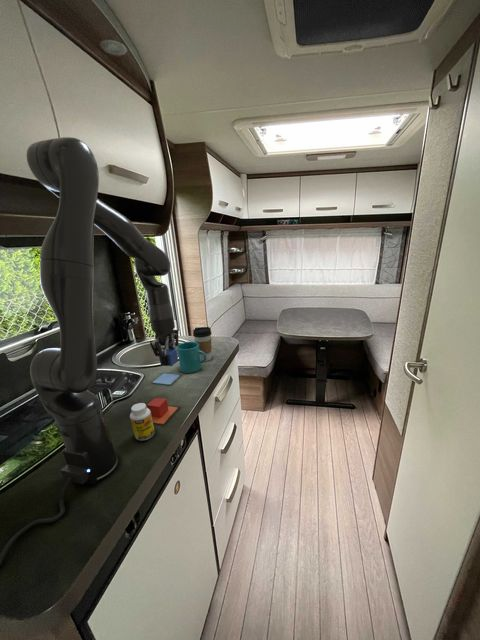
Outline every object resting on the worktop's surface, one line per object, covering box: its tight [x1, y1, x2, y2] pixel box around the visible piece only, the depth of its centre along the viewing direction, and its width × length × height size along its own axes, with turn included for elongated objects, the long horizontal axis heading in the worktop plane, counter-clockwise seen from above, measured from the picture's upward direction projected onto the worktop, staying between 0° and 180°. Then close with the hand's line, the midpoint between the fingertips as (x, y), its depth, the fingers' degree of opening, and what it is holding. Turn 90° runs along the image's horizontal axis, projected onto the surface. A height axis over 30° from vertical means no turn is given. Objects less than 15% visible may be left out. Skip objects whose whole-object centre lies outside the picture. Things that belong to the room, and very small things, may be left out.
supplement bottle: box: [129, 402, 156, 442], centre depth 81 cm, size 6×6×10 cm
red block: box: [146, 397, 169, 418], centre depth 92 cm, size 4×4×4 cm
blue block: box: [158, 349, 179, 367], centre depth 98 cm, size 4×4×4 cm
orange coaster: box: [152, 405, 179, 425], centre depth 92 cm, size 9×9×1 cm
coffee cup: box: [192, 326, 212, 362], centre depth 129 cm, size 8×8×15 cm
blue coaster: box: [151, 373, 181, 386], centre depth 114 cm, size 8×8×1 cm
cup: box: [176, 341, 207, 374], centre depth 120 cm, size 9×12×11 cm
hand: (169, 362), depth 98 cm, fingers closed on blue block, 4 cm apart
